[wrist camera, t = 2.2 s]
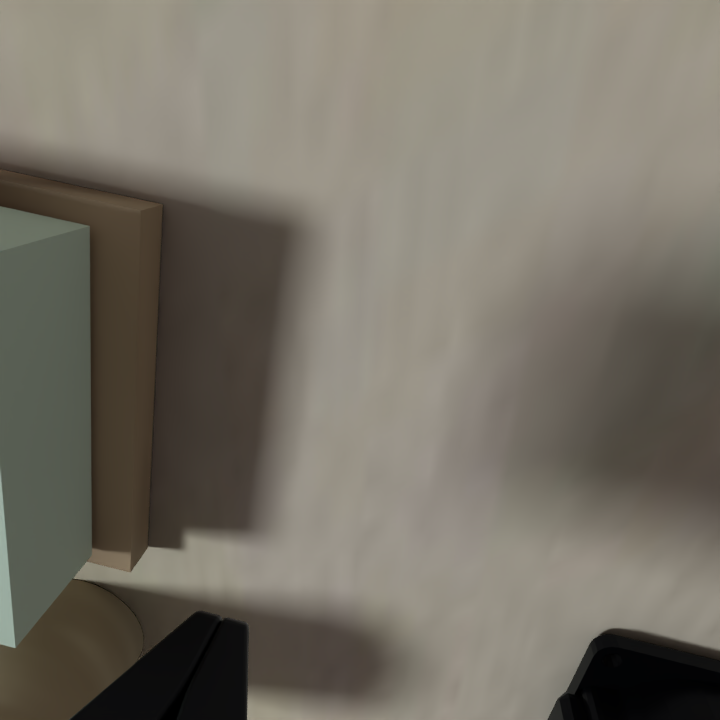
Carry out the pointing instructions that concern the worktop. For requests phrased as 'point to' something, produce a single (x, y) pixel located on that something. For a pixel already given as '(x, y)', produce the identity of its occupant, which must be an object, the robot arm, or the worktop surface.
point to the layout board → (113, 350)
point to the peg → (69, 655)
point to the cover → (43, 414)
